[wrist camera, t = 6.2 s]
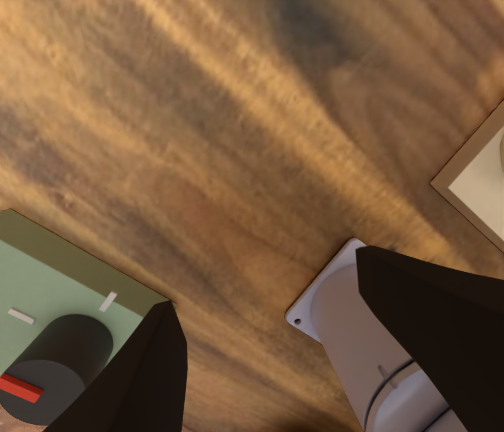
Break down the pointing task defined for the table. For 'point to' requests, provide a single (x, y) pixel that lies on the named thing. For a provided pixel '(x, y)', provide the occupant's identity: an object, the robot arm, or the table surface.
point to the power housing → (479, 178)
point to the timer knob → (55, 368)
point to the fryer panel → (60, 288)
